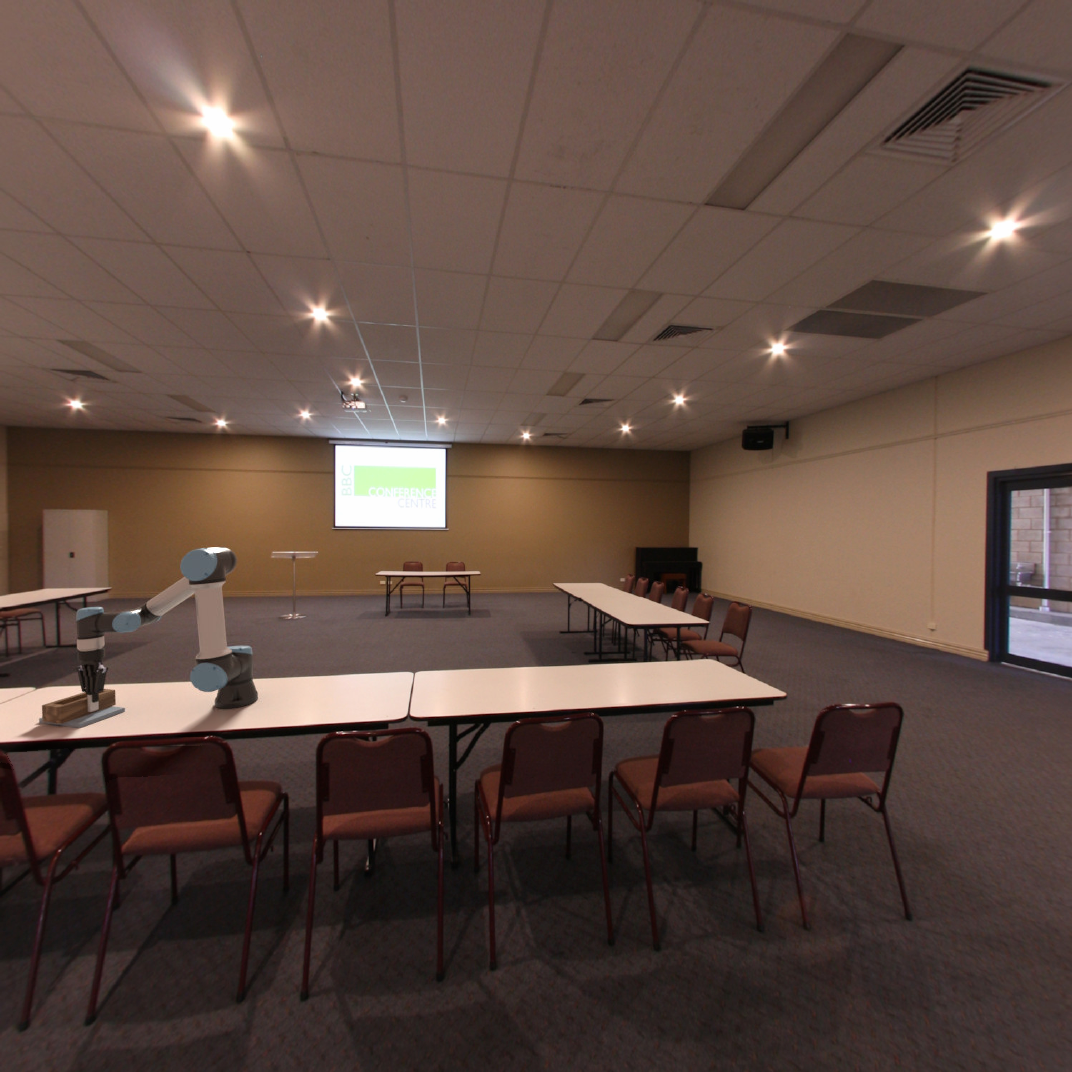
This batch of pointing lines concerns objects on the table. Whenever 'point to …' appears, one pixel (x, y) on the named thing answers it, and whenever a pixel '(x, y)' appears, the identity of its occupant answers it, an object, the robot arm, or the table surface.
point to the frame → (75, 707)
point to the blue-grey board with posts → (90, 717)
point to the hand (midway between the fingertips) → (93, 710)
